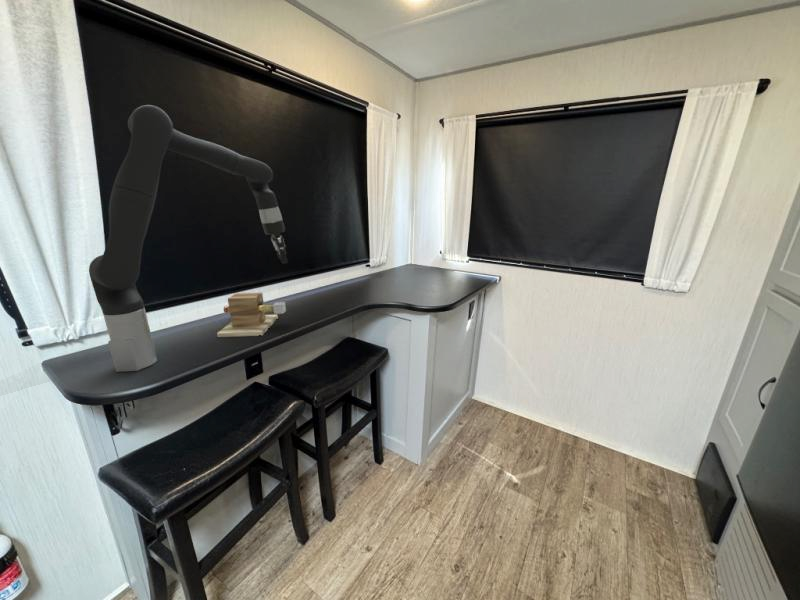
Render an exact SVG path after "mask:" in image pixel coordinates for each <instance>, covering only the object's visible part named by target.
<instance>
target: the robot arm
mask: <svg viewBox="0 0 800 600" xmlns="http://www.w3.org/2000/svg"><path fill="white" fill-rule="evenodd" d="M127 127H128V130H129V132H130V134H131V136H130V141H129V148H128V150H127V151H128V152H127V154H126V155H125V158H124V160H123V162H122V164H121V165H120V167H119V169H118V172H117V175H116V177H115V179H114V183H113V186H112V189H111V194H110V198H109V205H108V223H109V224H108V225H109V235H108V239H107V242H106V246H105V249H104V251H103V254H102V255H99V256H96V257H95V258H93V259H92V261H90V264H89V268H88V272H89V278H90V281H91V284H92V288H93V290H94V294H95V297H96V300H97V303H98V305H99V307H100V309H101V312H102V315H103V318H104V322H105V326H106V330H107V333H108V337H109V339H110V340H109V341H108V342H107V344H108V348H109V351H110V354H111V357H112V361H113V366H114V368H115V372H116V373H117V372H137V371H140V370H142V369H145V368H148V367H150V366H151V365H153V364H156V362H157V361H158V358H157V353H156V349H155V345H154V340H153V338H152V333H151V329H150V324H149V320H148V315H147V312H146V308H145V304H144V300H143V298H142V296H141V295H140V293H139V291H138V289H137V285H136V282H137V281H138V279H139V278H140V277H139V276H140V272H141V259H142V251H143V245H144V241H145V237H146V235H147V231H148V228H149V225H150V222H151V217H152V214H153V211H154V207H155V203H156V198H157V194H158V188H159V182H160V176H161V168H162V164H163V163H162V162H163V160H164V156H165V154H166V152H167V151H170V152H173V153H176V154H179V155H180V154H181V155H183V156H187V157H189V158H192V159H194V160H196V161H200V162H203V163H205V164H208V165H211V166H212V167H215V168H217V169H220V170H222V171H224V172H227V173H230V174H232V175H236V176H243V177H245V178H246V182H247V184H248V186H249V189H250V190H251V193H252V194H253V196H254V197H255V202H256V205H257V208H258V212H259V217H260V221H261V225H262V228H263V232H264V234H265V235H270V236H271V238H270V240H271V242H272V245H273V248H274V249H275V251H276V253H277V254H276V255H277V257H278V260H280V261H281V263H282V265H285V264H286V265H287V264H288V263H289V261H288V257H287V250H286V249H287V248H286V244H285V241H284V240H285V239H284V237H283V236H282V235H281V233H284V232H285V231H286V228H285V227H286V226H285V223H284V221H283V217H282V213H281V210H280V208H279V205H278V204H279V203H278V201H277V197H276V194H275V192H274V191H272V190H271V189H270V187H269V183H270V182H272V180H273V177H274V173H273V169H272V168H271V167H270V166H269V165H268V164H266V163H264V162H262V161H261V160H257V159H255V158H251V157H248V156H245V155H242V154H239V153H238V152H236V151H234V150H231V149H230V148H227V147H224V146H223V145H220V144H217V143H214V142H211V141H208V140H207V141H206V140H205V139H200V138H196V137H193V136H191V135H187V134H185V133H183V132H181V131H179V130H176V129H175V128H174V126H173V122H172V120H171V118H170V117H169V115H168V114H167V113H166V111H164V110H163V109H162V108H160V107H158V106H156V105H151V104H145V105H141V106H139V107H137V108H135V109H133V111H132V113H131V114H130V116H129V117H128V120H127Z"/></svg>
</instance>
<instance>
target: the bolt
mask: <svg viewBox="0 0 800 600" xmlns="http://www.w3.org/2000/svg"><path fill="white" fill-rule="evenodd" d="M258 307H259V312H260V311H265V312H273V315H279V314H280V315H281V314H284V313H286V311H287V308H286V302H285V301H281V302H280V301H276V302H275V303H273V304H269V305H268V304H264V305H258ZM223 312H224V313H225V314H226V313H227V314H228V313H230V310H229V305H226V306H223Z"/></svg>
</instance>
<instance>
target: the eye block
mask: <svg viewBox="0 0 800 600" xmlns="http://www.w3.org/2000/svg"><path fill="white" fill-rule="evenodd" d="M227 303H228V306H229V310H230V312H229V315H230V320H231V322H229V323H228V324H227V325H225V326H224V327H223V328H222V329H220V330H219V331H217V333H216V335H217V338H229V337H230V338H231V337H234V338H235V337H258V336H259V335H261V336H264V334H265V333H266V332H267V331H268V330H269V329H268V328H271V327H272V325H274V323H275V322H276V321H277V320H276V319H279V316H278V315H279V314H266V311H260V312H259V307H258V305H265V304H264V303H265V302H264V294H263V292H236V293H234V294H233V295H230V296H229V297H228V298H227Z"/></svg>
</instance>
